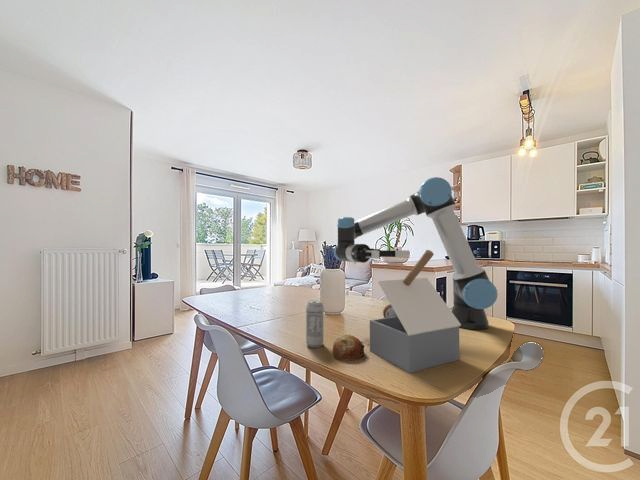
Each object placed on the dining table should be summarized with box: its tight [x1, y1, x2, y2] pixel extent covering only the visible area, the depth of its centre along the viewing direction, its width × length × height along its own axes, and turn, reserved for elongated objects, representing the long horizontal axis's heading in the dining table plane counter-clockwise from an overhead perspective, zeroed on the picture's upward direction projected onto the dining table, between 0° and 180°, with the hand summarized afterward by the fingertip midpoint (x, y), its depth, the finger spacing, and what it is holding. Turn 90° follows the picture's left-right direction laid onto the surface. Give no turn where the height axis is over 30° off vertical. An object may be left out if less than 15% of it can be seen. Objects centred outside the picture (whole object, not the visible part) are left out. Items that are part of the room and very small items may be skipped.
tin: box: [382, 303, 397, 318], centre depth 125 cm, size 15×3×8 cm, turn 84°
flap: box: [377, 249, 461, 336], centre depth 82 cm, size 20×18×15 cm
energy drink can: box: [305, 300, 324, 348], centre depth 98 cm, size 6×6×15 cm
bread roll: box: [331, 333, 365, 361], centre depth 89 cm, size 10×10×8 cm
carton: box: [369, 316, 461, 374], centre depth 88 cm, size 20×18×10 cm
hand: (394, 254), depth 96 cm, fingers open, 13 cm apart
